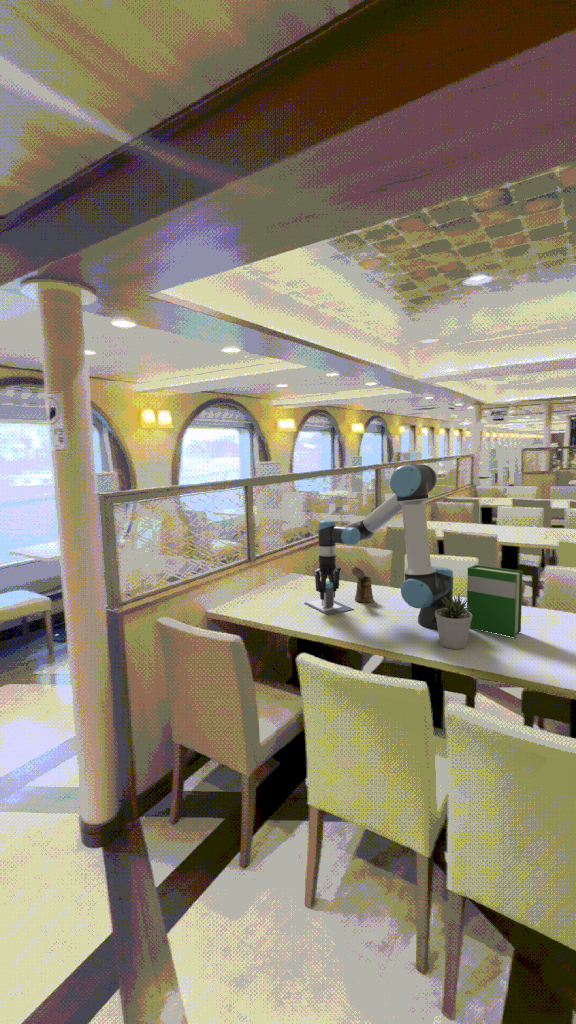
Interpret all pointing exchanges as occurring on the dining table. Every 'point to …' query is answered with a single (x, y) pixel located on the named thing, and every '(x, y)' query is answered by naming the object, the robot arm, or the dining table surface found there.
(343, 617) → the dining table surface
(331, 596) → the marker
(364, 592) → the wooden mug
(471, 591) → the hardback book
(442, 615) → the potted plant
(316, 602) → the writing mat
